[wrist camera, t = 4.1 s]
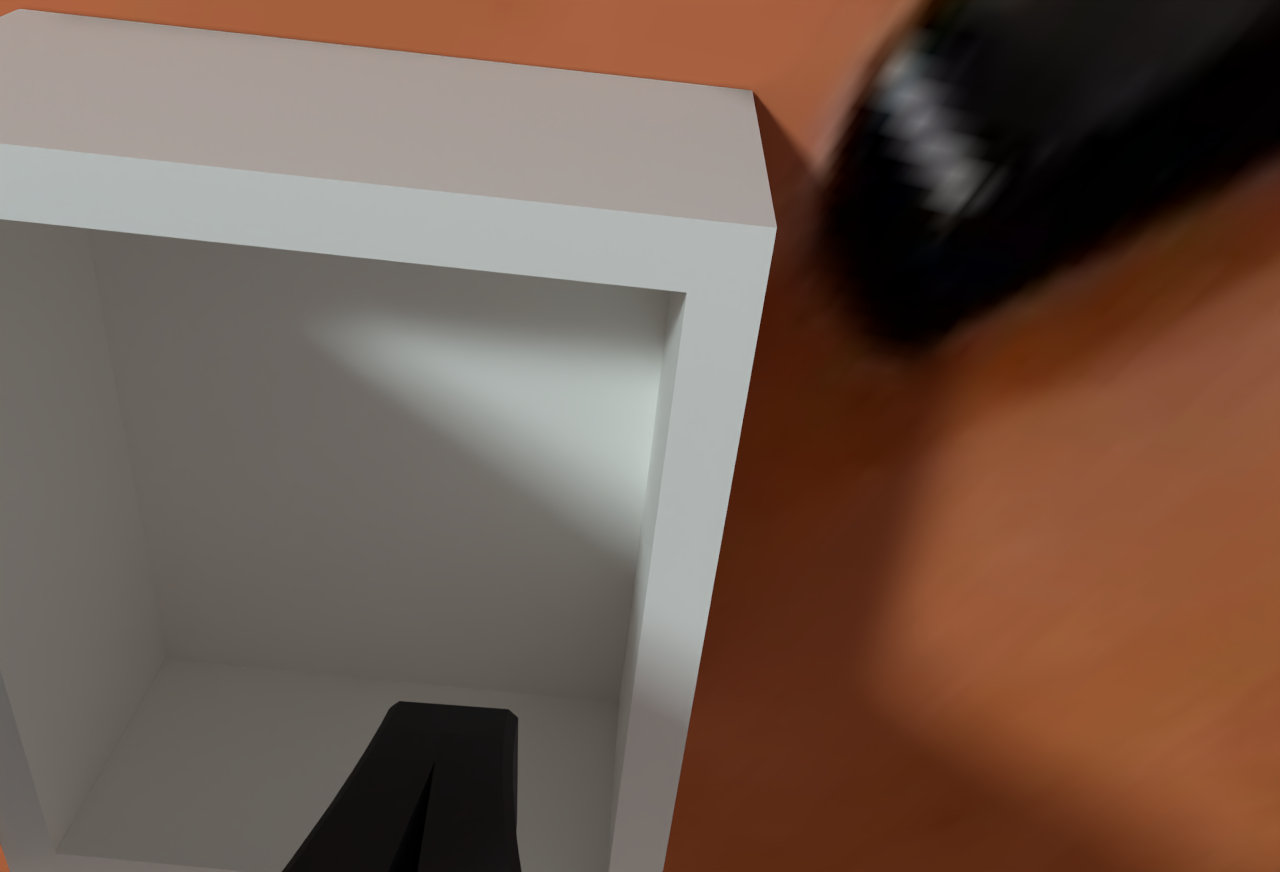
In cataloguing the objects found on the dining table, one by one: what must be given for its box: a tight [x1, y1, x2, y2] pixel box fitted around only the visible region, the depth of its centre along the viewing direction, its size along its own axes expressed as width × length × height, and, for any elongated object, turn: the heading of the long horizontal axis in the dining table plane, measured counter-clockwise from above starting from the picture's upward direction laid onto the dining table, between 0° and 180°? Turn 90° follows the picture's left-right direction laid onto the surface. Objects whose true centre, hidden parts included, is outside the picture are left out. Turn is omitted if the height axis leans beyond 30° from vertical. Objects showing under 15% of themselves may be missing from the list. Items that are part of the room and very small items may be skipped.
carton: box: [0, 9, 777, 872], centre depth 16 cm, size 10×12×5 cm
